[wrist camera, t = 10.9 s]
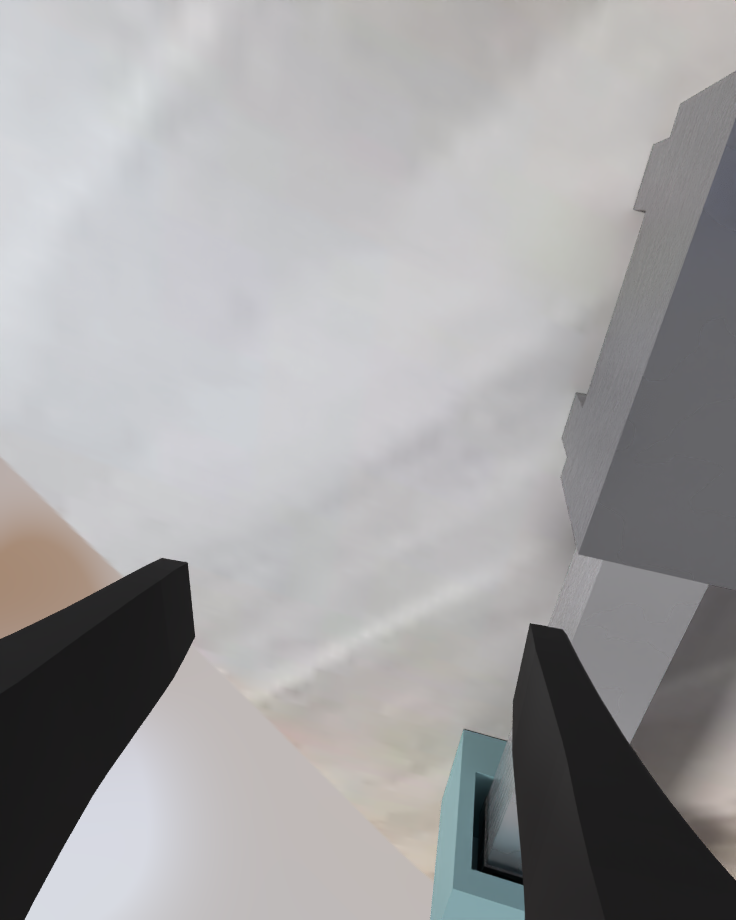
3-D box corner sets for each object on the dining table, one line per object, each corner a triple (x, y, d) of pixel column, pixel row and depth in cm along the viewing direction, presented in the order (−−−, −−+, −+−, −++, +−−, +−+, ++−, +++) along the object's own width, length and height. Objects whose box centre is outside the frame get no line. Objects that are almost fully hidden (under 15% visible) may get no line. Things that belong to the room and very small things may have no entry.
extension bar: (712, 461, 16) (751, 507, 13) (545, 834, 23) (550, 908, 20) (612, 440, 16) (631, 482, 13) (479, 814, 23) (476, 884, 21)
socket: (578, 761, 24) (604, 936, 18) (547, 832, 26) (560, 1008, 20) (463, 729, 25) (452, 888, 19) (442, 801, 27) (425, 963, 21)
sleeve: (845, 136, 14) (1058, 90, 9) (692, 485, 18) (771, 598, 13) (663, 114, 15) (757, 58, 9) (555, 457, 19) (578, 554, 14)
